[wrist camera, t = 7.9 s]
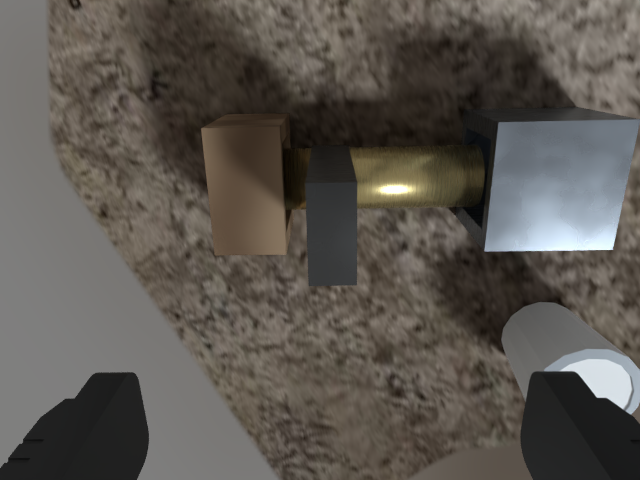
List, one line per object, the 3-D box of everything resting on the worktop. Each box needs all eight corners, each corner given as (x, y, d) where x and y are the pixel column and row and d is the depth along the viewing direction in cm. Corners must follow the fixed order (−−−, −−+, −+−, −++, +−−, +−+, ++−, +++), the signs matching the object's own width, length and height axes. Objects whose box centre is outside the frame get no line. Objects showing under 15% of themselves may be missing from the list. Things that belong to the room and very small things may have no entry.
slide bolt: (469, 133, 29) (554, 178, 18) (463, 203, 31) (537, 282, 20) (256, 138, 29) (215, 184, 18) (261, 206, 31) (225, 286, 20)
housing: (577, 107, 30) (640, 119, 24) (559, 214, 32) (612, 249, 26) (464, 109, 30) (498, 122, 24) (455, 215, 32) (484, 251, 26)
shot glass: (565, 277, 34) (622, 330, 27) (600, 348, 36) (660, 412, 29) (477, 321, 35) (511, 381, 29) (515, 387, 37) (555, 456, 31)
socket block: (289, 113, 30) (279, 126, 24) (293, 218, 33) (286, 254, 27) (226, 114, 30) (201, 128, 24) (235, 219, 33) (214, 255, 27)
